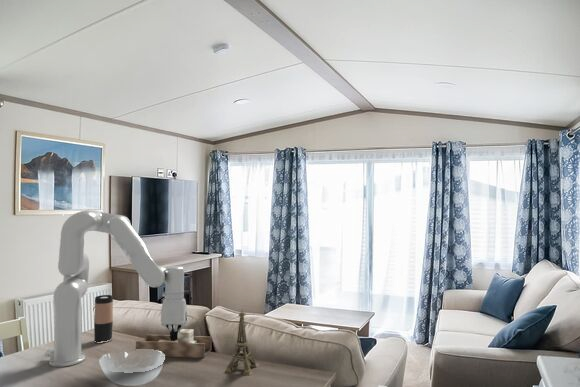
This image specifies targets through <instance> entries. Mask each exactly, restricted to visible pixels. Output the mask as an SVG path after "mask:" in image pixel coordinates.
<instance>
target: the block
mask: <svg viewBox="0 0 580 387" xmlns="http://www.w3.org/2000/svg"><path fill="white" fill-rule="evenodd" d="M194 334H195V333H194V329H192V328H191V329H190V328H181V329H179V330H178V342H181V343H192V342H193V337H194V336H195V335H194Z"/></svg>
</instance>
